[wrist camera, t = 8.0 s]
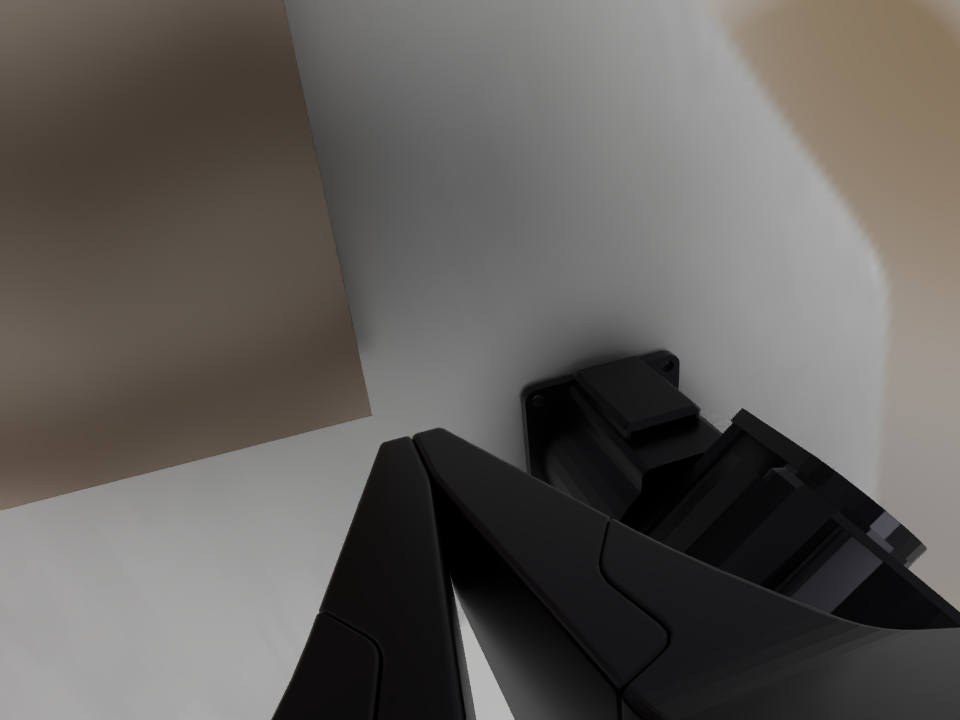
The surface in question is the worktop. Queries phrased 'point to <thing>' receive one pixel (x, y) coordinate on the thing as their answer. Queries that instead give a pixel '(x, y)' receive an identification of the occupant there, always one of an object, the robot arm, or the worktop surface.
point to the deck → (160, 243)
